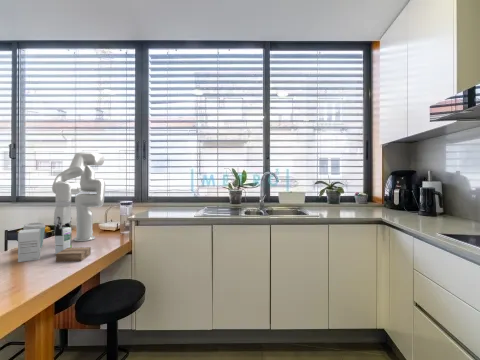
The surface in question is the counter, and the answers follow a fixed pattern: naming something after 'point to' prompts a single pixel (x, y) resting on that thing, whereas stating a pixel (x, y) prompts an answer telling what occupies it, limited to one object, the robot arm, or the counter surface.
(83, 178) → the robot arm
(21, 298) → the counter surface
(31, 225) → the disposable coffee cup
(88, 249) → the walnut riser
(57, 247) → the syrup box
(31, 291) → the counter surface
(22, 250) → the supplement box
